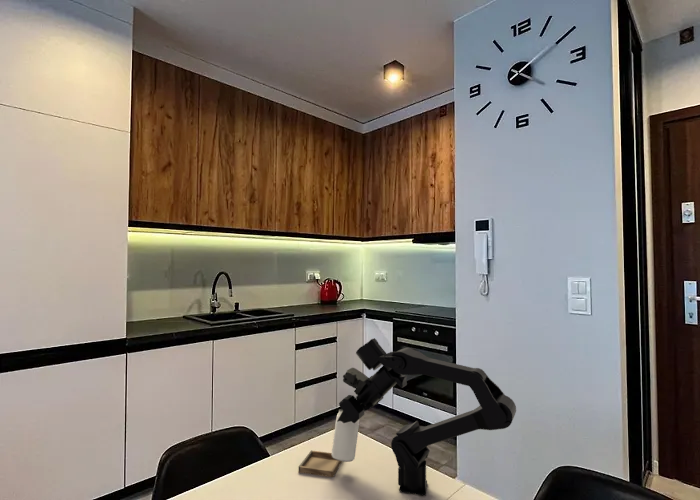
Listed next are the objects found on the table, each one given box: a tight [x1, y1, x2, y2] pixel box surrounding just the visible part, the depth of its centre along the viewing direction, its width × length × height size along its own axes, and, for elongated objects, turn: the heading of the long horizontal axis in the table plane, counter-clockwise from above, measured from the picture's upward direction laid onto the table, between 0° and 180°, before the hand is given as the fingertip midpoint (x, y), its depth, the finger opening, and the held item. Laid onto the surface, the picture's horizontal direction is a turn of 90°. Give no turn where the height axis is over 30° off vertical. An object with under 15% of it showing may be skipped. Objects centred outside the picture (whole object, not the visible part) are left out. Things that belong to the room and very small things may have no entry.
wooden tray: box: [298, 450, 343, 478], centre depth 107 cm, size 10×10×2 cm
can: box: [330, 408, 360, 463], centre depth 105 cm, size 6×6×12 cm
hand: (343, 418), depth 107 cm, fingers closed on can, 6 cm apart
